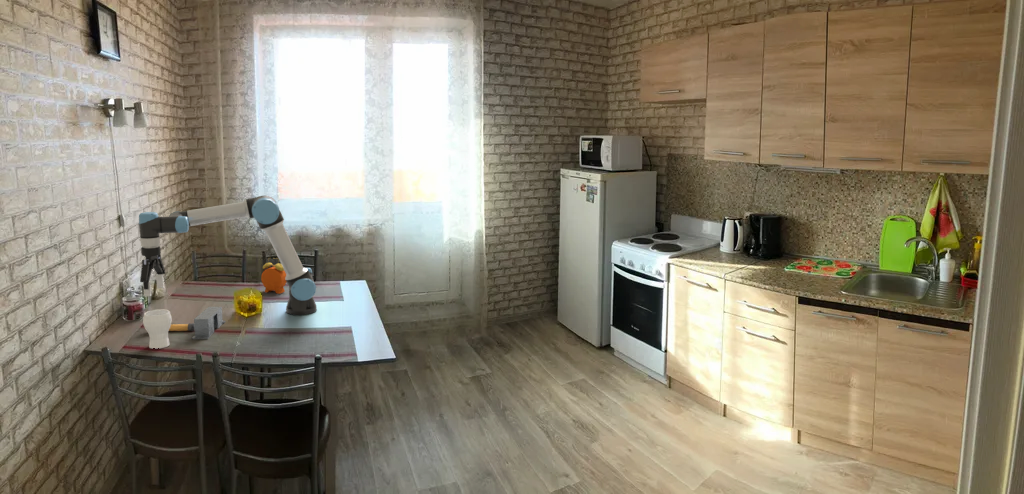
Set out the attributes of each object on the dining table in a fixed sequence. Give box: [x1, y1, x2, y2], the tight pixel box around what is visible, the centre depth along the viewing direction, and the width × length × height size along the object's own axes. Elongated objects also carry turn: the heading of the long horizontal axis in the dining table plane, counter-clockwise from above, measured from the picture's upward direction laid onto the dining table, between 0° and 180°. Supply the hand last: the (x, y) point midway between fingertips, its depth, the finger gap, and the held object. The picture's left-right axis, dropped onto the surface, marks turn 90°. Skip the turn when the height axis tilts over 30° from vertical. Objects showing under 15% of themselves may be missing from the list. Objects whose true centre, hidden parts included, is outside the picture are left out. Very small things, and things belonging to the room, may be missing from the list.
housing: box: [191, 306, 226, 340], centre depth 285 cm, size 7×25×9 cm, turn 8°
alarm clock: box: [260, 257, 287, 295], centre depth 352 cm, size 13×6×20 cm, turn 77°
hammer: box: [168, 322, 195, 332], centre depth 283 cm, size 18×4×7 cm, turn 98°
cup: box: [142, 308, 173, 350], centre depth 263 cm, size 11×11×15 cm
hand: (154, 292), depth 279 cm, fingers open, 13 cm apart
